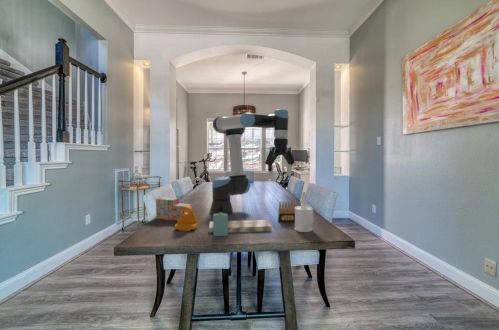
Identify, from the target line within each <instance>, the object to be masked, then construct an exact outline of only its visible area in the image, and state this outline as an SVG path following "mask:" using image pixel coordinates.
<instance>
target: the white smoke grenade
mask: <svg viewBox="0 0 499 330" xmlns="http://www.w3.org/2000/svg"><path fill="white" fill-rule="evenodd" d="M299 203H300V205H299V206H298V205H296V207H295V222H294V228H293V229H294V230H295V231H297V232H300V233H310V232H313V226H312V225H313V224H314V209H313V207H312V206H310V205H309V204H308V202H307V193H306V192H305V191H302V192H301V196H300V198H299Z"/></svg>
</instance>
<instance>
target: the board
mask: <svg viewBox="0 0 499 330" xmlns="http://www.w3.org/2000/svg"><path fill="white" fill-rule="evenodd" d="M208 225H209V226H208V233H209V234H213V221H211V220H210V221H209V224H208ZM271 231H272V225H271V224H270V222H269V220H268V219H250V220H249V219H248V220H228V233H247V232H248V233H252V232H253V233H255V232H271Z"/></svg>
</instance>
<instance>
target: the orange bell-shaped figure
mask: <svg viewBox="0 0 499 330" xmlns="http://www.w3.org/2000/svg"><path fill="white" fill-rule="evenodd" d="M193 208H194V207H192V205H191V206H190V205H186V206H184V207H183V208H182V209H181V214H180V217H179V219H178V221H176V222H177V223H175V225H174V230H179V231H181V232H191V231H192V230H196V229H197V228H198V226H199V221H198V219H197V215H196V213H195V211H194V209H193ZM185 209H187V210H188V211H189V213H187V212H186V211H185Z"/></svg>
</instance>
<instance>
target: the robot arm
mask: <svg viewBox="0 0 499 330" xmlns="http://www.w3.org/2000/svg"><path fill="white" fill-rule="evenodd" d="M289 117H290V116H289V111H288V110H287V109H284V108H281V109H279V108H278V109H274V114H262V113H253V112H243V113H241V114H239V115H232V116H222V115H221V116H217V117H215V118H214V119H213V122H212V128H213V130H214V131H215V132H217V133H219V134H225V138H226V139H227V141H228V149H229V151H228V152H229V161H230V162H229V163H230V174H229V175H228V176H218V177H216V178H213V180H212V185H211V186H212V191H211V192H212V202H211V205H210V209H209V213H210V214H211V215H214V214H219V213H223V214H224V213H228V215H231V214H233V213H234V209H233V204H232V202H231V197H232V196H238V195H241V196H242V195H245V194H247V193H248V192H249V191H250V189H251V180H250V178H249V177H247V174H246V173H245V171H244V161H243V152H242V150H243V149H242V141H241V138H242V137H243V134H245V131H246V128H262V129H272V128H273V138H274V139H273V146H270V147H269V152H268V154H267V156H266V159H265V162H264V163H265V164H264V165H267V167H268V168H267V172H268V178H271V179H272V178H274V165H273V164H274V162H275V161H276V160H277V158H278V157H279V156H283V157H284V160H286V176H288V177H291V176H292V169H293V168H292V167H293V166H292V165H294V164H295V159H294V155H293V153H292V147H291V146H288V144H289V143H288V141H289V139H288V137H289V136H288V135H289Z"/></svg>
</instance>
